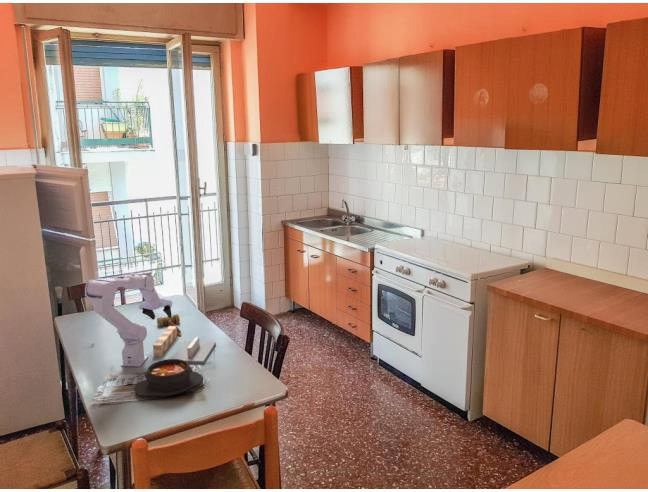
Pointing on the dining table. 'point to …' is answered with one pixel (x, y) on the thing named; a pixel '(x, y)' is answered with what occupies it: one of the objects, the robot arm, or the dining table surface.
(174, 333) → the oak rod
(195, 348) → the fulcrum stand
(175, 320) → the gavel
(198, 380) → the casserole
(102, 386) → the dining table surface
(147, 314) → the robot arm
